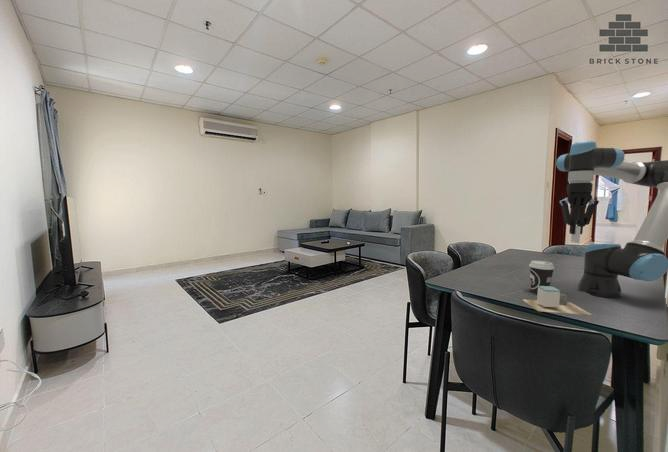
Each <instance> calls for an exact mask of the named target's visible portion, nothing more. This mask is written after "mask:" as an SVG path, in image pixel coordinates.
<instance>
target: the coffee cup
mask: <svg viewBox="0 0 668 452" xmlns="http://www.w3.org/2000/svg"><path fill="white" fill-rule="evenodd" d="M528 267H529V271H530V272H529V275H530V276H529V277H530V278H529V279H530V281H529V282H530V292H531V293H532V294H536V295H537V294H538V286H551V285H552V279H553V274H554V270H555V268H556V267H555V266H554V264H553V263H552V262H549V261H544V260H531V262H530V263H529V265H528Z"/></svg>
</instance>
